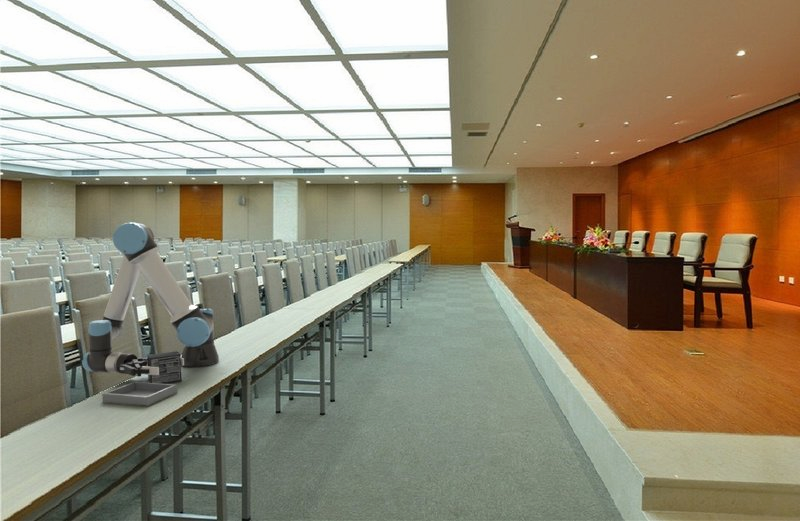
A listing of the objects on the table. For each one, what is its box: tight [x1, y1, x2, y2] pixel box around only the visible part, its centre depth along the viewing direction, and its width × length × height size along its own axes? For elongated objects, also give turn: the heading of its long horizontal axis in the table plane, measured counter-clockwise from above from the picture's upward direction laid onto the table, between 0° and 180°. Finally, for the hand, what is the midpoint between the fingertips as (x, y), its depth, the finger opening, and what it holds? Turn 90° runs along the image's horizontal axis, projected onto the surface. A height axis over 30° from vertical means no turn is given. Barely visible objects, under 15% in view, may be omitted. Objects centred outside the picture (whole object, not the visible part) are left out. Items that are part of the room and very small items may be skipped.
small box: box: [146, 350, 183, 384], centre depth 187 cm, size 11×6×10 cm, turn 125°
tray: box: [101, 381, 178, 408], centre depth 169 cm, size 14×17×3 cm
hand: (171, 366), depth 186 cm, fingers open, 13 cm apart
